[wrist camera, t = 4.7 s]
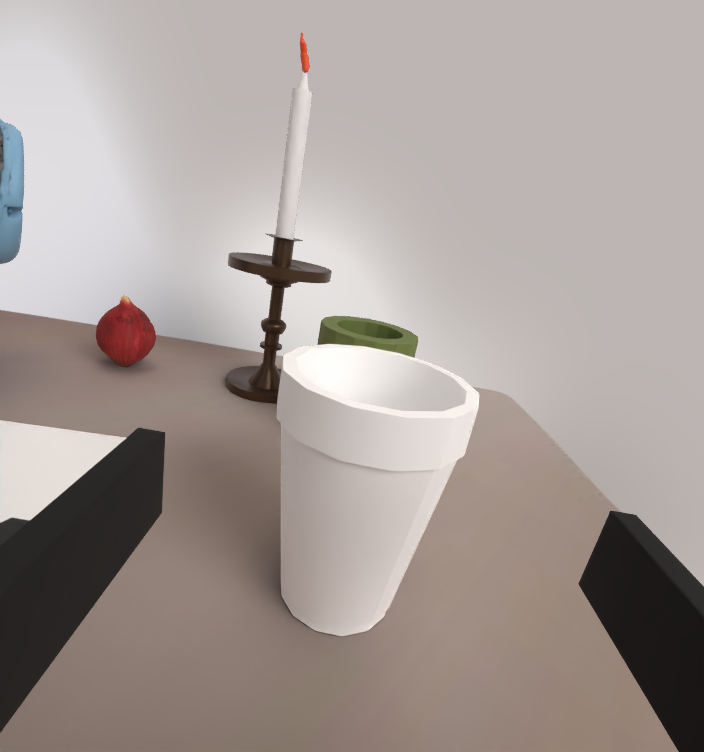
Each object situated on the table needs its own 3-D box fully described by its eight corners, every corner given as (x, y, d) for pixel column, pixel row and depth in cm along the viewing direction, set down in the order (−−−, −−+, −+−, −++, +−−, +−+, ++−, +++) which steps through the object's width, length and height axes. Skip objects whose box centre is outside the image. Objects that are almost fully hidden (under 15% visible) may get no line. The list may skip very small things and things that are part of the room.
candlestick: (205, 396, 45) (235, -9, 34) (231, 364, 56) (261, 45, 44) (307, 412, 46) (370, 21, 35) (315, 379, 56) (365, 67, 45)
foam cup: (336, 513, 31) (371, 339, 27) (446, 597, 25) (512, 395, 21) (217, 574, 24) (240, 352, 20) (333, 708, 18) (398, 439, 14)
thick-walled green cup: (287, 422, 43) (303, 315, 40) (356, 412, 49) (375, 316, 45) (339, 467, 37) (363, 344, 33) (410, 449, 42) (438, 342, 39)
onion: (165, 366, 51) (167, 299, 49) (129, 379, 46) (130, 305, 43) (123, 354, 52) (123, 288, 50) (83, 366, 47) (82, 293, 44)
